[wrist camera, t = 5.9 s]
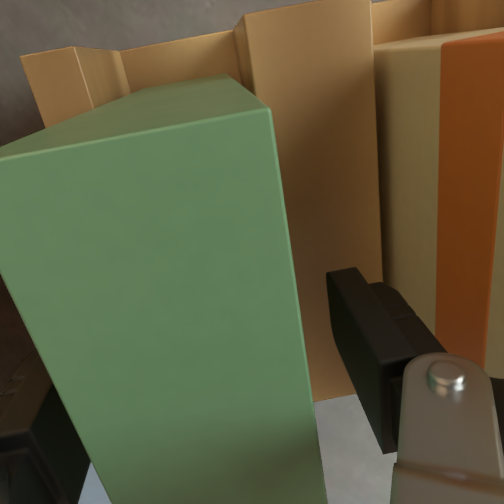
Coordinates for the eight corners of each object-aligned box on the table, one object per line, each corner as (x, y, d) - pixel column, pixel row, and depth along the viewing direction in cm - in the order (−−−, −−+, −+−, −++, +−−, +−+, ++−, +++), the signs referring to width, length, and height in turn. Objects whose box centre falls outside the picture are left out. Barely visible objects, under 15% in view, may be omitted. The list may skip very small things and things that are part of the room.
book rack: (172, 332, 23) (157, 433, 17) (88, 58, 17) (18, 56, 11) (445, 279, 23) (532, 360, 17) (454, -11, 18) (592, -52, 11)
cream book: (351, 284, 22) (546, 593, 9) (333, 51, 17) (679, 24, 4) (419, 271, 22) (706, 560, 9) (419, 35, 17) (1004, -38, 5)
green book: (201, 312, 22) (187, 664, 9) (142, 88, 17) (-54, 167, 4) (267, 299, 22) (346, 632, 9) (226, 72, 17) (271, 106, 4)
